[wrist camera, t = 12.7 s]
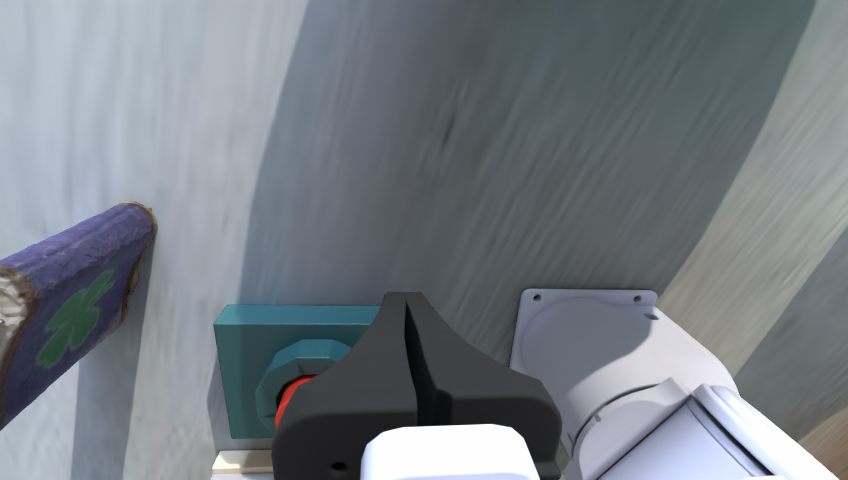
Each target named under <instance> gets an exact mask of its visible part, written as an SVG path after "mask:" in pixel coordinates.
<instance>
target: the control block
mask: <svg viewBox="0 0 848 480" xmlns="http://www.w3.org/2000/svg"><path fill="white" fill-rule="evenodd" d="M380 307H381V306H315V305H227V306H226V308H225V309H224V310H223V312H222V313H221V314H220V316H219V317H218V318H217V320H216V321H215V322H214V324H213V325H214V331H215V337H216V344H217V350H218V356H219V362H220V369H221V375H222V381H223V387H224V394H225V400H226V406H227V412H228V419H229V425H230V431H231V437H232V439H242V438H274V436H275V433H276V430H277V429H276V426H275V417H276V414H277V411H278V408H279V405H280V402H281V399H282V397H283V394H284V391H285V389H286V388H287V387H288V385H289V384H290V383H291V382H293V381H294V380H296V379H298V378H300V377H302V376H306V375H313V374H321V373H323V372H324V371H326V370H327V369H329V368H330V367H331V366H333V365H334V364H335V363H337V362H338V361H339V360H340V359H341V358H342V357H343V356H344V355H345V354H347V353H348V352H349V351H350V350H351V349H352V348H353V347H354V345H355V344H356V343H357V342H358V341H359V340H360V338H361V337H362V336H363V335H364V333H365V332H366V330H367V329H368V328H369V326H370V325H371V323H372V322H373V320H374V318H375V317H376V315H377V313H378V311H379V309H380Z"/></svg>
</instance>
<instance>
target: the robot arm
mask: <svg viewBox="0 0 848 480" xmlns="http://www.w3.org/2000/svg"><path fill="white" fill-rule="evenodd" d="M535 295H539V297H538V298H535V299H534V296H535ZM636 296H637V298H636V299H634V297H636ZM657 299H658V295H657V294H656V293H655V292H653V291H651V290H591V289H526V290H524V291H523V292H522V294H521V299H520V305H519V311H518V318H517V324H516V330H515V336H514V342H513V348H512V354H511V360H510V366H509V367H507V366H505V365H502V364H500V363H499V362H497V361H495V360H493V359H491V358H490V357H488V356H486V355H485V354H483V353H482V352H480V351H478V350H477V349H475V348H474V347H473V346H471V345H470V344H469V343H467V342H466V341H465V340H464V339H462V338H461V337H460V336H459V335H458V334H456V333H455V332H454V331H453V330H452V329H451V328H450V327H449V326H448V325H447V324H446V323H445V321H444V320H443V319H442V318H441V317H440V316H439V315H438V313H437V312H436V311H435V310H434V308H433V307H432V306H431V305H430V303H429V302H428V301H427V299H426V298H425V296H424V295H423V294H422V293H421V292H387V293H386V294H385V295H384V299H383V302H382V305H381V307H380V309H379V311H378V313H377V315H376V317H375V318H374V320H373V322H372V323H371V325H370V326H369V328H368V329H367V330H366V332H365V333H364V335H363V336H362V337H361V338H360V340H359V341H358V342H357V343H356V344H355V345H354V347H353V348H352V349H351V350H350V351H349V352H348V353H347V354H345V355H344V356H343V357H342V358H341V359H340V360H339V361H338V362H337V363H335V364H334V365H333V366H331V367H330V368H329V369H327V370H326V371H324V372H323V373H321V374H319V375H318V376H316V377H314V378H312V379H310V380H309V381H307V382H305V383H303V384H301V385H299V386H298V387H297V388H296V389H295V391H294V393H293V394H292V396H291V398H290V400H289V402H288V404H287V406H286V408H285V410H284V412H283V414H282V416H281V418H280V421H279V424H278V427H277V430H276V433H275V436H274V440H273V443H272V452H271V458H272V466H273V474H274V480H558V479H560V476H561V475H560V470H559V468H558V466H557V464H556V461H555V457H556V453H557V449H558V445H559V441H560V439H561V441H562V443H563V445H564V447H565V449H566V451H567V453H568V455H569V457H570V459H571V461H572V462H571V464H570V465H569V467H568V468H567V469H566V470H565V471H564V473H563V474H564V476H565V479H566V480H839V479H838V478H837V477H835V476H834V475H833V474H832V473H831V472H830V471H829V470H827V469H826V468H825V467H824V466H823V465H822V464H821V463H819V462H818V461H817V460H816V459H815V458H814V457H813V456H811V455H810V454H809V453H808V452H807V451H806V450H804V449H803V448H802V447H801V446H800V445H799V444H797V443H796V442H795V441H794V440H793V439H791V438H790V437H789V436H788V435H787V434H785V433H784V432H783V431H782V430H781V429H780V428H778V427H777V426H776V425H775V424H773V423H772V422H771V421H770V420H769V419H767V418H766V417H765V416H764V415H762V414H761V413H760V412H759V411H758V410H756V409H755V408H754V407H753V406H751V405H750V404H749V403H747V402H746V401H745V400H744V399H742V398H741V397H740V395H739V392H738V389H737V387H736V385H735V383H734V381H733V379H732V377H731V375H730V374H729V372H728V371H727V369H726V368H725V366H724V365H723V364H722V363H721V362H720V360H718V359H717V358H716V357H715V356H714V355H713V354H712V353H711V352H709V351H708V350H707V349H706V348H705V347H703V346H702V345H701V344H700V343H699V342H697V341H696V340H695V339H694V338H692V337H691V336H690V335H689V334H688V333H686V332H685V331H684V330H683V329H682V328H680V327H679V326H678V325H677V324H676V323H674V322H673V321H672V320H671V319H670V318H668V317H667V316H666V315H665V314H663V313H662V312H661V311H660V310H659V309H657V308H656V307H655V306H656V303H657Z"/></svg>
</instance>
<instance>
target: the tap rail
mask: <svg viewBox="0 0 848 480" xmlns="http://www.w3.org/2000/svg"><path fill="white" fill-rule="evenodd" d="M271 452H272V450H235V451H220V452H219V455H218V457H217V459H216V461H215V463H214V465H213V467H212V472H213V475H212V477H211V479H210V480H274V474H273V466H272V458H271Z"/></svg>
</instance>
